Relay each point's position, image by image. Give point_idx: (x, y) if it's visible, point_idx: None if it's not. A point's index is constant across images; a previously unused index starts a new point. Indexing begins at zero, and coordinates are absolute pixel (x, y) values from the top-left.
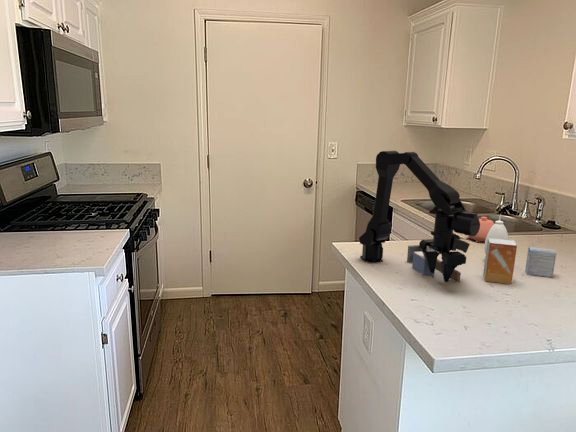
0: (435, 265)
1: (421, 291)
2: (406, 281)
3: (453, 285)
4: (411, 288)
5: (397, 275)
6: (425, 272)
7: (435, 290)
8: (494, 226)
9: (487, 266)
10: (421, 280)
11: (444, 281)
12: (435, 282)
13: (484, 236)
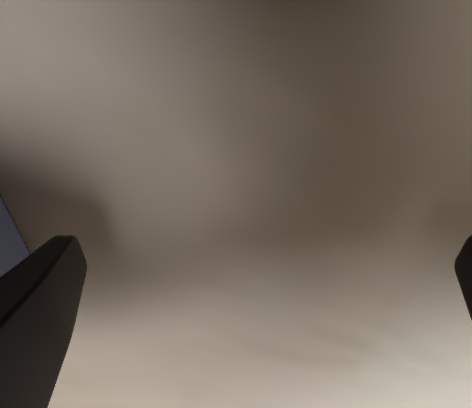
0: (4, 326)
1: (420, 380)
2: (215, 390)
3: (462, 91)
4: (346, 400)
5: (85, 396)
6: (8, 264)
7: (461, 316)
8: None
9: None
10: (205, 320)
11: (458, 270)
12: (283, 244)
13: None
